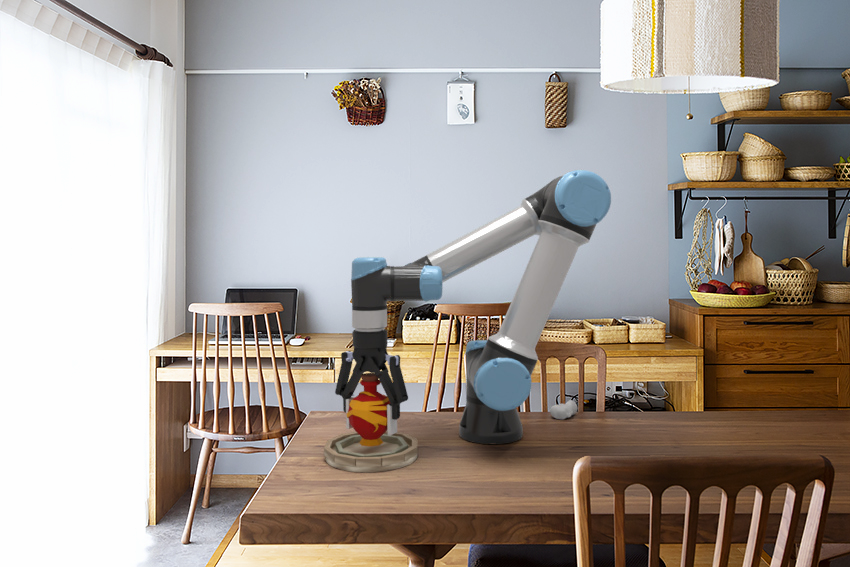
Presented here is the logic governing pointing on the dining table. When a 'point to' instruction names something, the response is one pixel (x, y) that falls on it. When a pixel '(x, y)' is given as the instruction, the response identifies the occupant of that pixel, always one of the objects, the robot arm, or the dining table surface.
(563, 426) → the dining table surface
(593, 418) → the dining table surface
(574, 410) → the pale two-lobed sculpture
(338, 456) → the tray
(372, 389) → the potion bottle
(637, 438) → the dining table surface
